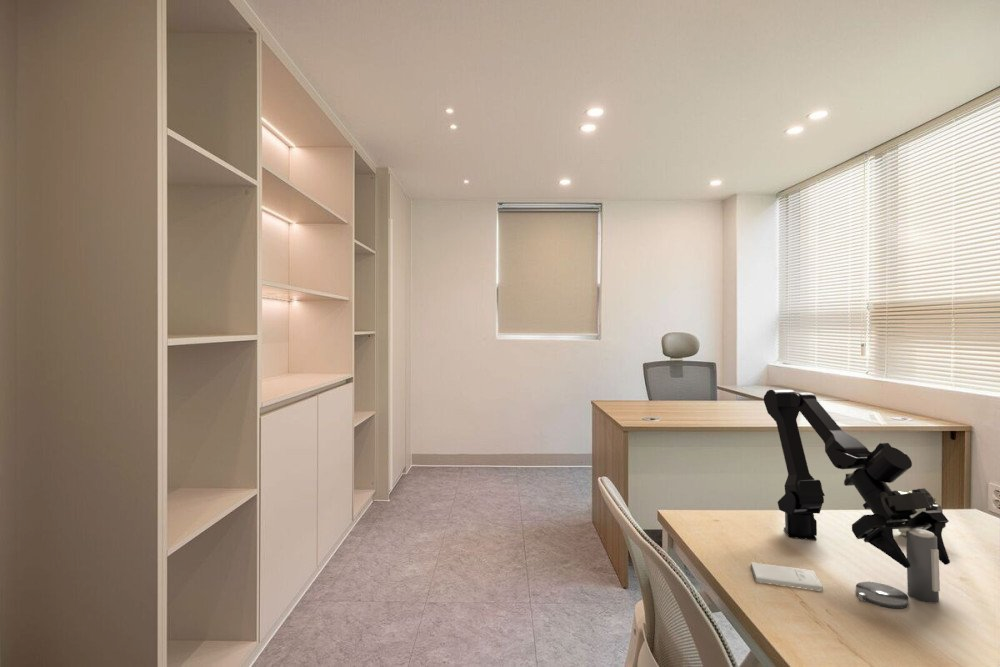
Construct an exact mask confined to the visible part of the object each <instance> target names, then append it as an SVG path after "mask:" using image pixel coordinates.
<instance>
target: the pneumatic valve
mask: <svg viewBox="0 0 1000 667" xmlns="http://www.w3.org/2000/svg"><path fill="white" fill-rule="evenodd" d="M893 491H896V490H893ZM897 491H898V492H900V493H901V494H906V493H907V492H904V491H899V490H897ZM908 493H912V490H909V491H908ZM933 500H934V502H933V504H930V506H931V508H929V509H926V508H922V509H916V511H917V513H915V514H914V515H911V516H910V517H911V518H913V517H915V516H916V515H918V514H919V513H921V512H922V511H933V510H936V511H939V512H942V513H943V507H942V505H940V504H938V503H937V502H936V501H937V500H936V498H934V497H933ZM943 514H944V513H943ZM903 524H905V523H903ZM909 529H910V528H904V529H897V530H898V532H899V533H900V535H901V536H902V537H904V538H906V531H908V530H909Z"/></svg>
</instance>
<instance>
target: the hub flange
mask: <svg viewBox="0 0 1000 667" xmlns="http://www.w3.org/2000/svg"><path fill="white" fill-rule="evenodd" d="M855 592H856V595H857V598H858V600H859V601H861V602H868V603H870V604H873V605H876V606H879V607H882V608H887V609H895V610H896V609H897V610H899V609H907V608H908V607H909V605H910V603H909V599H910V598H909V595H908V594H906V592H904V591H902V590H900V589H898V588H896V587H893V586H892V585H888V584H885V583H881V582H874V581H860V582H858V583H856V585H855Z"/></svg>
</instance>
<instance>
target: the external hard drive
mask: <svg viewBox="0 0 1000 667" xmlns="http://www.w3.org/2000/svg"><path fill="white" fill-rule="evenodd" d="M750 568H751V571H752V573H753V577H754V580H755V583H757V582H761V583H760V584H764V583H771V584H778V585H777V586H779V585H785V586H784V587H786V586H794V587H801V588H807V589H806V590H808V589H813V590H812V591H815V590H820V591H819V592H822V591H823V592H824V586H823V584H822V583H821V581H820V580H819V577H818V576H817V575H816V573H815V571H814V570H812V569H804V568H797V567H790V566H782V565H777V564H776V565H774V564H769V563H768V564H766V563H760V562H754V561H753V562H752V561H751V562H750ZM771 584H770V585H771Z"/></svg>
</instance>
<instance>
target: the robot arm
mask: <svg viewBox="0 0 1000 667" xmlns="http://www.w3.org/2000/svg"><path fill="white" fill-rule="evenodd" d="M763 403H764V405H765V408H766V411H767V414H768V415H769V416H770V417H771V418H772V419H773V420H774V421H775V423H776V428H777V431H778V437H779V440H780V444H781V448H782V454H783V457H784V462H785V467H786V471H787V477H786V481H785V483H784V493H785V494H784V495H783V496H782V497H781V498H779V500H778V501H777V507H778V509H779V511H781V512H783V513H784V524H785V526H784V527H783V530H784V532H785V534H786V535H787V537H788V538H793V539H800V540H801V539H802V540H811V541H817V536H818V535H817V534H818V528H817V527H818V526H817V524H818V523H817V520H816V518H815V514H819V515H820V514H821V510H822V507H823V504H824V503H825V502H824V501H825V498H824V497H825V496H826V495H825V493H824V490H823V485H822V482H821V480H820V479H815V478H814V477H813V476H812V474H811V473H810V470H809V466H808V463H807V459H806V454H805V450H804V446H803V441H802V437H801V433H800V429H799V426H798V425H799V424H798V422H797V419H798V416H799V413H800V414H801V415H802V416H803V417H804V419H806V421H807V422H808V423H809V425H810V426H811V427H812V429H813V430H814V431H815V433H816V434H817V435H818V436H819V438H820V439H821V440H822V441H823V443H824V453H826V455H827V457H828V459H829V460H830V462H831V463H832V465H833V466H834V467H835V468H837V469H838V470H854V471H853V472H851V473H845V479H844V480H843V485H844V486H846V487H848V486H854V487H855V489H856V490H857V493H859V495H860V497H861V498H862V499H863V501H864V503H863V504H862V506H863V508H864V509H865V510H870V511H871V512H872V513H873V514H863V515H862V516H861V517H859V519H857V520H856V521H855V522H854V523H852V524H851V531H852V533H853V534H854V537H855V538H856V540H863V541H864V543H869V544H870V545H871V546H873V547H875V548H876V549H878V550H880V551H881V552H882V553H884V554H885V555H887V556H888V557H889V558H891V559H893V560H894V561H895V562H897V563H898V564H899V565H900V566H902V567H903V568H905V569H907V568H909V567H910V566H911V565H910V563H909V561H908V560H907V555H905V553H904V552H903V550H902V549H901V546H899V544H898V543H897V541H896V539H895V537H894V531H893V530H898V529H904V528H910V529H912V528H915V529H922V530H927V531H930V532H932V533H934V535H935V536H936V537H937V550H939V562H941V563H943V565H949V564H951V560H950V557H949V555H948V552H947V549H946V546H945V544H944V539H943V536H942V534H943V533H942V532H943V530H944V529H945V527H947V525H946V524H947V523H949V519H948V518H947V517H946V515H945V514H944V513H942V512H939V511H936V510H933V511H922V512H921V513H919V514H918V515H916V516H915V517H913V518H911V517H910V516H911V515H914V514H915V513H917V511H916V509H922V508H926V509H929V508H931V506H930V504H933V502H934V500H933V498H934V497H933V496H932V494H931V493H930V492H929V491H928V490H927V489H926V488H924V487H922V488H917V489H911V492H912V493H909V492H905V493H906V494H901V493H900V492H901V491H900V492H898V491H899V490H895V491H894V490H892V489H891V488H890V486H889V485H888V484H891V483H894V482H895V481H896V480H897V479H899V478H900V477H901V476H902V475H904V474H905V473H906V472H907V471H908V470H909V469H911V468H912V466H913V463H912V462H913V461H912V460H911V458H910V456H908V454H906V453H904V452H903V451H901V449H898V448H897V447H893V446H891V444H890V443H889V442H880V443H878V444H877V446H876V447H875V449H873V451H871V450H869V449H868V448H867V447H866V446H865V445H864V444H863V443H862V442H861V441H859V439H857V438H856V437H854V436H851V435H850V434H847V433H846V432H845V431H844V430H843V429H842V428H841V427H840V425H839V424H838V423H837V422H836V421H835V420H834V419H833V417H832V416H831V415H830V414H829V413H828V412H827V411H826V409H825V408H824V407H823V406H822V405H821V403H819V401H818V400H817V396H816V394H814V393H812V392H796V391H794V390H793V389H792V388H791V389H788V388H787V389H783V388H782V389H769V390H767V391H766V393H765V394H764V396H763ZM887 483H888V484H887ZM903 523H905V524H903Z"/></svg>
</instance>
